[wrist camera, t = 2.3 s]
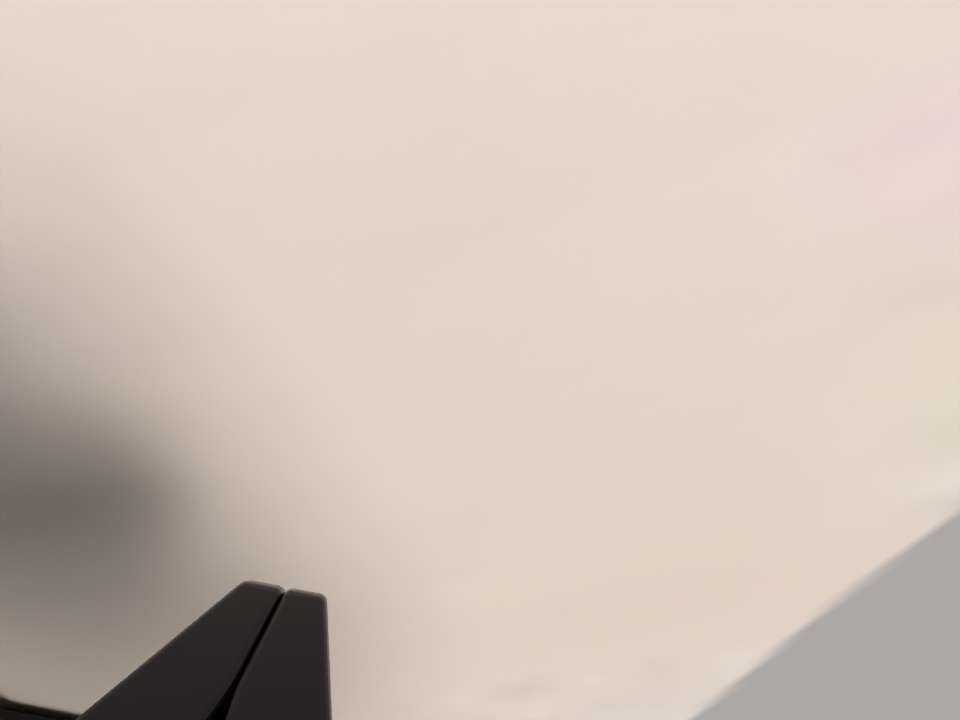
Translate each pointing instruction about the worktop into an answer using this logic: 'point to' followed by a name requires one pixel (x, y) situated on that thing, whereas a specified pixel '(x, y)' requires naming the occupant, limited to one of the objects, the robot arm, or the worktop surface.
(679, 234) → the worktop surface
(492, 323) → the worktop surface
